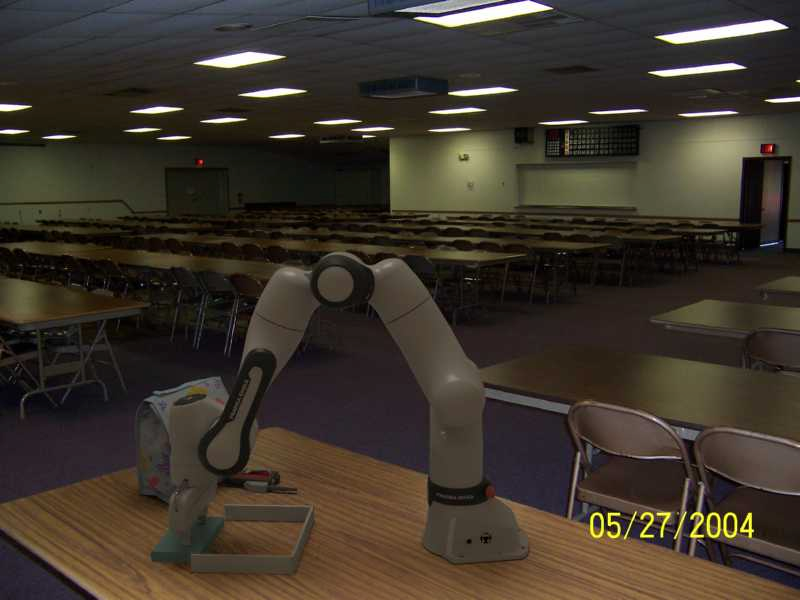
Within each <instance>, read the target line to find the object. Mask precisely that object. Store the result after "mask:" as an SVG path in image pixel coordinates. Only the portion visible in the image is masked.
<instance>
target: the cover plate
mask: <svg viewBox="0 0 800 600" xmlns="http://www.w3.org/2000/svg"><path fill="white" fill-rule="evenodd" d="M223 528H225V516H207V522H206V523H205V524H204V525H198V524H197V520H196V521H195V522H194V524H193V525H192V527H191V530H190V533H191V535H193V538H192V539H193V541H192V543H191V545H190V546H183V545H182V538H181V536H180V534H178V533H171V532H170V530H169V529H168V530H167V531H166V532H165V534H164V535H163V536H162V537H161V539H160V540H159V541H158V542H157V544H156V545H155V546H154V547H153V548H152V550H151V551H150V558H151V559H150V560H151V562H167V563H169V562H170V563H191V554H208V551H210V548H211V547H212V545H213V544H214V543H215V541H216V540H217V538H218V536H219V535H220V533H221V531H223Z"/></svg>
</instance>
